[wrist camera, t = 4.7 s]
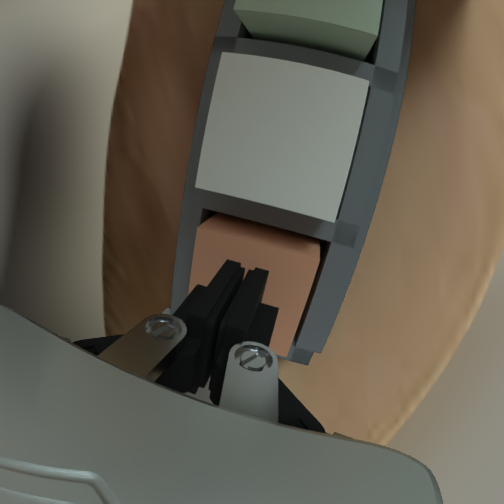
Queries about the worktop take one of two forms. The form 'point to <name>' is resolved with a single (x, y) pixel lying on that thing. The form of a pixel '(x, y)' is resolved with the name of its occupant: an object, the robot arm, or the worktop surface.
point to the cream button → (281, 133)
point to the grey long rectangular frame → (358, 180)
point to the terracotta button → (261, 265)
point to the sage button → (314, 23)
